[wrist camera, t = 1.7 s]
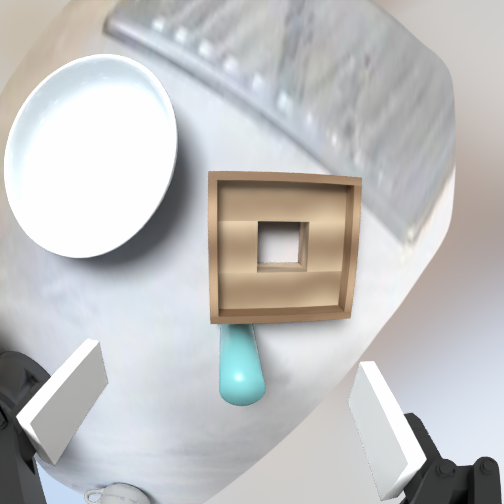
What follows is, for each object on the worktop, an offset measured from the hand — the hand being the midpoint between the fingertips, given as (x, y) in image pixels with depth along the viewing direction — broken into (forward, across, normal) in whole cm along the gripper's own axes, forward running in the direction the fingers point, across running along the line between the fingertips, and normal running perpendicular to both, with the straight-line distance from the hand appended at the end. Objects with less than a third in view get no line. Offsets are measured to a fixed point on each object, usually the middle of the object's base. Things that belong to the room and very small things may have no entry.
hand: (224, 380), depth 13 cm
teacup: (+17, +24, +50) cm, 58 cm away
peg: (+21, 0, +8) cm, 23 cm away
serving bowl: (+20, +17, -12) cm, 29 cm away
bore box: (+22, -4, -3) cm, 22 cm away
